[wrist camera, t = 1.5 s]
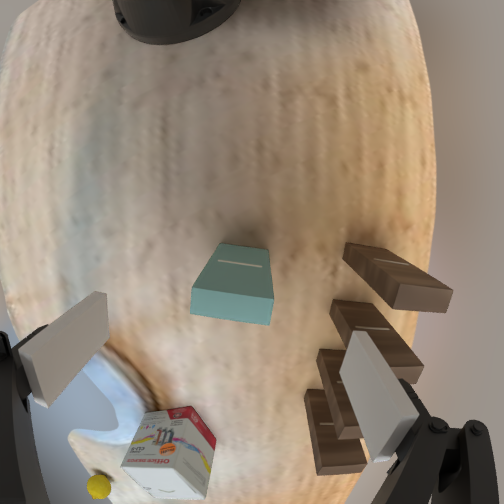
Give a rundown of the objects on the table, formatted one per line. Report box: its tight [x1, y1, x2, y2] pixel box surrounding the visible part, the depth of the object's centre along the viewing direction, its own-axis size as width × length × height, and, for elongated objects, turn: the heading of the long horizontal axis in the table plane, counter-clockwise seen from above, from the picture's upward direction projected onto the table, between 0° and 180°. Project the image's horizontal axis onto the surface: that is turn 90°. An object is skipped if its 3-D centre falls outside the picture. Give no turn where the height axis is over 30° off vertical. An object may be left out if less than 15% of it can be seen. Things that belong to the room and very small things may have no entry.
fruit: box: [87, 475, 111, 499], centre depth 39 cm, size 6×6×8 cm
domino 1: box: [190, 243, 274, 325], centre depth 24 cm, size 2×5×13 cm, turn 82°
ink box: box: [120, 406, 216, 500], centre depth 31 cm, size 9×9×12 cm
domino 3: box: [304, 389, 367, 476], centre depth 28 cm, size 2×5×13 cm, turn 82°
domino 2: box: [316, 349, 364, 440], centre depth 26 cm, size 2×5×13 cm, turn 82°
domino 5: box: [329, 300, 424, 384], centre depth 25 cm, size 2×5×13 cm, turn 82°
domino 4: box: [343, 243, 453, 313], centre depth 23 cm, size 2×5×13 cm, turn 82°
